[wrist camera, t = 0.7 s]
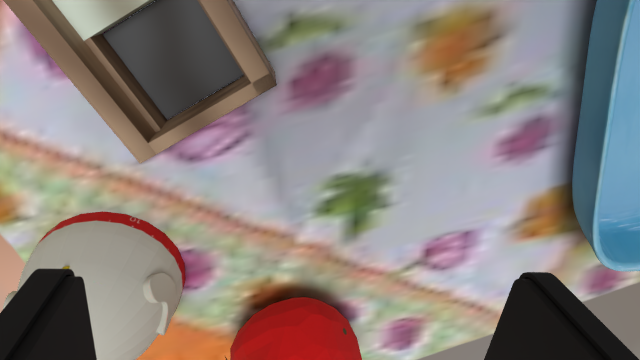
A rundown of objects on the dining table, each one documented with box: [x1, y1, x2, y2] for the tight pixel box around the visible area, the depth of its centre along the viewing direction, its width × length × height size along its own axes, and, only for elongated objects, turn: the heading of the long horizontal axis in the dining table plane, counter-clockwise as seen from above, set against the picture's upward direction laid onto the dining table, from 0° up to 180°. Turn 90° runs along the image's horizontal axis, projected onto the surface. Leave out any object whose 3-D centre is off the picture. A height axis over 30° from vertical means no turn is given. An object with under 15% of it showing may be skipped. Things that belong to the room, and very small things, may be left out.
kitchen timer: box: [3, 212, 185, 360], centre depth 34 cm, size 14×14×15 cm
